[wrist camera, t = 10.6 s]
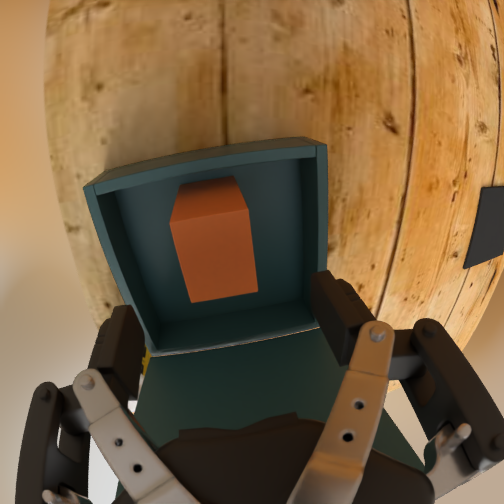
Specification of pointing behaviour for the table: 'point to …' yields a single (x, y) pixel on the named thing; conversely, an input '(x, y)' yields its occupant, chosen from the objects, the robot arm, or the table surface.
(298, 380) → the lunchbox lid
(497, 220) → the mat
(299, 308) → the box
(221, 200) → the block
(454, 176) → the table surface
